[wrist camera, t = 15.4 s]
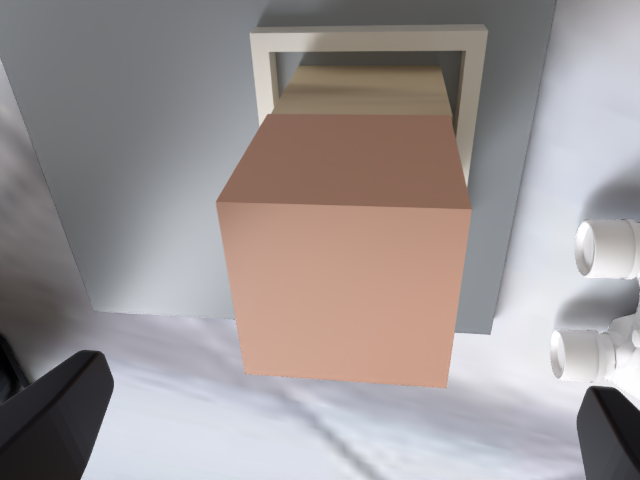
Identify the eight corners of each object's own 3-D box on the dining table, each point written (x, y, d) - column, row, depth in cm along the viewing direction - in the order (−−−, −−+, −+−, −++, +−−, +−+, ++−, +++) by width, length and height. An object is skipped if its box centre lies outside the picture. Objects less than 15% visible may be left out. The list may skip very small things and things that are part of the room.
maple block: (428, 192, 21) (436, 266, 17) (305, 188, 21) (283, 259, 17) (440, 65, 18) (453, 116, 14) (298, 65, 19) (270, 115, 15)
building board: (488, 323, 25) (493, 350, 24) (101, 301, 28) (84, 324, 26) (592, -224, 14) (615, -237, 13) (-69, -179, 17) (-114, -185, 15)
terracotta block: (434, 265, 17) (446, 387, 13) (281, 258, 17) (245, 374, 13) (450, 115, 14) (471, 209, 10) (267, 113, 15) (215, 202, 10)
